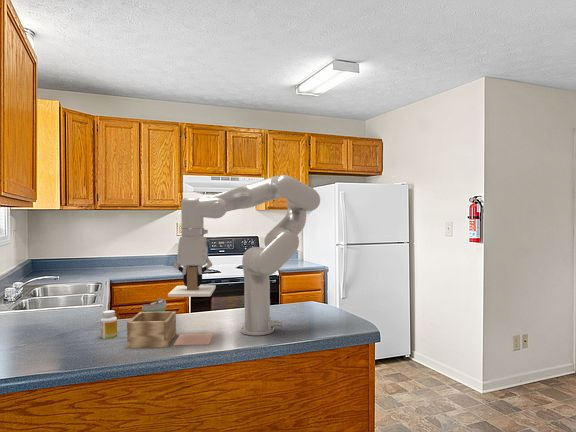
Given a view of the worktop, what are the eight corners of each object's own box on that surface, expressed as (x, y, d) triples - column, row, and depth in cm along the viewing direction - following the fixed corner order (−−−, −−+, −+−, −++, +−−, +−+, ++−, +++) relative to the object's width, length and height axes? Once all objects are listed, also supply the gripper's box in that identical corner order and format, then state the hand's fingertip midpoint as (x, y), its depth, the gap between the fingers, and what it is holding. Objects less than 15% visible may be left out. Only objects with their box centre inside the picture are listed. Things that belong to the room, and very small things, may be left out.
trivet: (213, 335, 158) (213, 333, 158) (209, 345, 146) (209, 344, 146) (180, 335, 158) (180, 334, 158) (173, 346, 146) (173, 344, 146)
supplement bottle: (120, 336, 157) (120, 310, 157) (110, 341, 152) (109, 313, 152) (108, 335, 159) (108, 309, 158) (97, 339, 154) (97, 312, 153)
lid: (215, 287, 159) (215, 263, 159) (210, 296, 144) (210, 269, 144) (177, 288, 158) (177, 263, 158) (167, 296, 143) (167, 269, 143)
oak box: (176, 335, 157) (175, 311, 157) (167, 348, 143) (166, 321, 143) (139, 336, 157) (139, 312, 157) (127, 349, 143) (126, 322, 143)
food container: (157, 332, 162) (156, 305, 162) (142, 331, 164) (142, 305, 163) (172, 323, 174) (172, 298, 174) (158, 322, 176) (158, 298, 175)
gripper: (217, 232, 155) (218, 283, 155) (170, 232, 154) (171, 283, 155) (215, 233, 147) (215, 287, 148) (166, 234, 147) (166, 287, 147)
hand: (193, 285), depth 151 cm, fingers closed on lid, 3 cm apart
